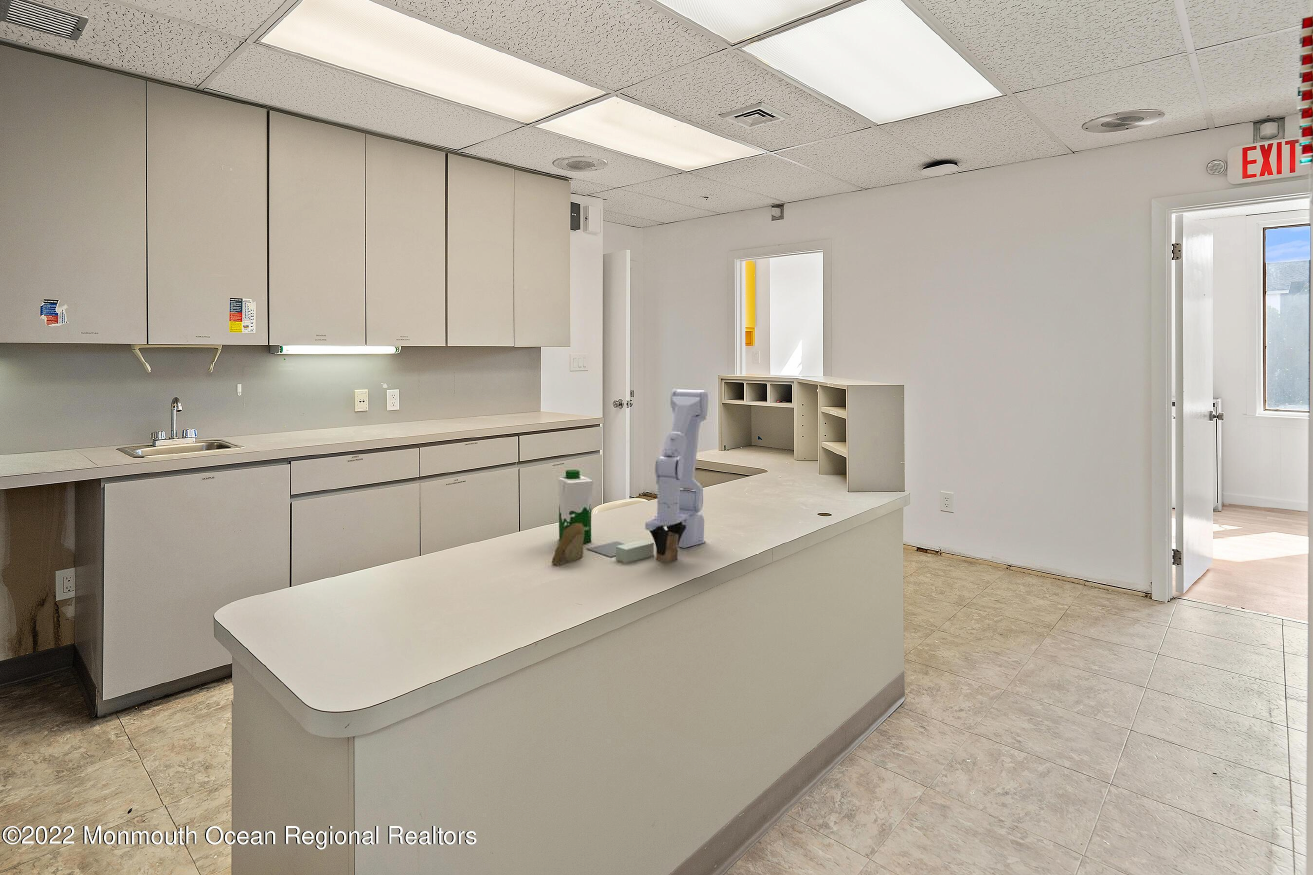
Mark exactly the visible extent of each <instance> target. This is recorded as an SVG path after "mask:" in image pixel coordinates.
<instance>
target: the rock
mask: <svg viewBox="0 0 1313 875" xmlns="http://www.w3.org/2000/svg"><path fill="white" fill-rule="evenodd" d="M583 540H584V526H583V524H582V523H579V524H578V523H576V524H573V525H571V526H570V527H568V528H567V529H565V530H564V531H563V536H562V538H561V540H560V541H559V543H558V545H557V547H556V549H555V551H554V555H553V557H552V559H551V562H550V563H551V564H554V565H556V566H560V565H563V564H568V563H569V561H570V562H573V560H574V561H576V560H578V559H581V558H583V557H584V543H583Z"/></svg>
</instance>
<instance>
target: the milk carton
mask: <svg viewBox="0 0 1313 875" xmlns="http://www.w3.org/2000/svg"><path fill="white" fill-rule="evenodd" d="M580 472H581V471H580V470H578V469H566V470H565V476H564V477H558V478H557V480H558V481H557V483H558V496H559V497H558V538H559V540H560V541H561V538H562V536H563V531H564V530H565V529H567V528H568V527H570V526H571V525H573V524H576V523H578V524H579V523H582V524H583V526H584V540H583V544H585V543H586V544H588V543H592V499H593V498H592V497H593V496H592V495H593V494H592V493H593V485H594V480H592V479H590V477H589V478H588V477H586V476H582V475H581V473H580Z"/></svg>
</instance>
